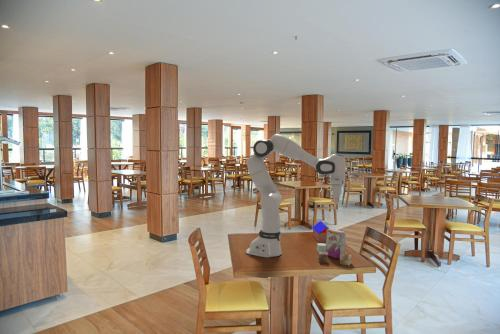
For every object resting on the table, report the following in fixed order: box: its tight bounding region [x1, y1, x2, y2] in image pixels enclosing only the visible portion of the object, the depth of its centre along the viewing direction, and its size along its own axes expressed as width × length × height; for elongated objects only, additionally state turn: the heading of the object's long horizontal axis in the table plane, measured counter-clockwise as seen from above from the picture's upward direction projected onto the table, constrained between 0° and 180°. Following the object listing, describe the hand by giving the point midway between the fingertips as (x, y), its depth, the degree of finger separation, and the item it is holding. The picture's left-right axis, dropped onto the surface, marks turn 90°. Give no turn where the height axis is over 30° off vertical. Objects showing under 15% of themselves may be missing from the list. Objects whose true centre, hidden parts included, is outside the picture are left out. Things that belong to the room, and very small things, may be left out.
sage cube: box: [316, 242, 326, 254], centre depth 220 cm, size 5×5×5 cm
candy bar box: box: [325, 227, 346, 261], centre depth 210 cm, size 11×5×16 cm, turn 36°
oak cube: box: [339, 253, 353, 267], centre depth 198 cm, size 5×5×5 cm
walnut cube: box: [318, 252, 329, 264], centre depth 202 cm, size 5×5×5 cm
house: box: [312, 220, 330, 243], centre depth 251 cm, size 12×20×12 cm, turn 2°
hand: (337, 202), depth 211 cm, fingers open, 7 cm apart
